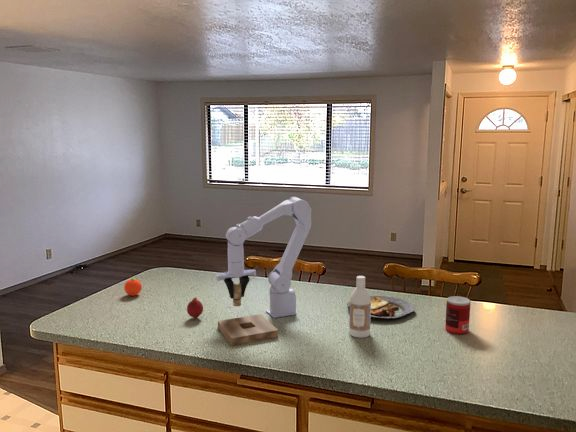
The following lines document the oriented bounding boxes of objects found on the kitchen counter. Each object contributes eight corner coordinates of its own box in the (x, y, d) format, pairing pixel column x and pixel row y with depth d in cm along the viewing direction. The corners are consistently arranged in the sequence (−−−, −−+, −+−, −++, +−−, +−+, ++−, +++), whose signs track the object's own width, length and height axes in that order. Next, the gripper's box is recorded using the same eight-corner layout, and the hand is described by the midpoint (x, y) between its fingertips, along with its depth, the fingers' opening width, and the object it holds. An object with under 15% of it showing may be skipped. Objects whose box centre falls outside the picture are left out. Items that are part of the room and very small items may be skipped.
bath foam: (347, 336, 167) (348, 279, 163) (351, 329, 173) (352, 273, 170) (368, 339, 165) (369, 280, 161) (371, 331, 171) (372, 274, 168)
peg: (240, 302, 185) (239, 282, 184) (243, 305, 182) (242, 284, 181) (231, 304, 184) (230, 283, 183) (234, 307, 181) (233, 285, 179)
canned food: (468, 327, 175) (470, 297, 173) (468, 336, 167) (470, 304, 165) (445, 324, 177) (447, 294, 175) (444, 333, 170) (446, 302, 168)
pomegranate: (199, 321, 180) (199, 300, 179) (184, 320, 181) (184, 299, 180) (205, 316, 186) (205, 295, 185) (191, 315, 187) (190, 294, 186)
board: (260, 320, 181) (260, 314, 181) (278, 337, 167) (278, 330, 166) (217, 327, 175) (217, 321, 174) (231, 345, 160) (231, 338, 160)
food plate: (383, 327, 174) (384, 317, 174) (334, 310, 192) (335, 301, 191) (424, 312, 191) (425, 303, 190) (376, 297, 208) (376, 289, 207)
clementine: (130, 291, 215) (129, 275, 213) (145, 292, 214) (145, 275, 212) (121, 297, 207) (120, 280, 206) (137, 298, 206) (136, 281, 205)
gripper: (251, 255, 187) (251, 291, 189) (213, 260, 181) (214, 296, 183) (257, 260, 180) (258, 296, 183) (218, 265, 174) (219, 302, 177)
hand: (236, 296), depth 182 cm, fingers closed on peg, 3 cm apart
